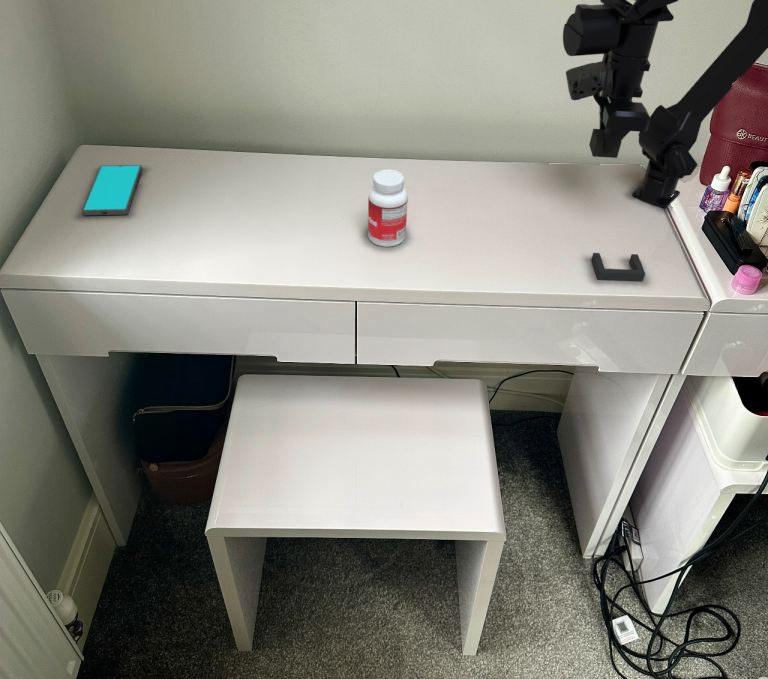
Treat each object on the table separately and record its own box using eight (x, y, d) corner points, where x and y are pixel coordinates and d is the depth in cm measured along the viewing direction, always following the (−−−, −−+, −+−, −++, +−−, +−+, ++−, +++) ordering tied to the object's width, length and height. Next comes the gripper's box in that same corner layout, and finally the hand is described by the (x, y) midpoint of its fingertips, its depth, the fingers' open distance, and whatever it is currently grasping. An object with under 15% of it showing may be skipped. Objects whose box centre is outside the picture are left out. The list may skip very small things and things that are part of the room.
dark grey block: (589, 145, 119) (593, 128, 117) (612, 146, 118) (617, 129, 116) (592, 156, 116) (596, 139, 114) (617, 158, 116) (621, 141, 114)
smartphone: (81, 211, 116) (100, 165, 127) (82, 215, 117) (101, 169, 128) (127, 210, 117) (142, 164, 128) (128, 214, 117) (143, 169, 128)
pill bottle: (366, 226, 117) (367, 167, 109) (403, 225, 117) (406, 166, 110) (369, 248, 112) (370, 188, 105) (407, 247, 113) (411, 187, 105)
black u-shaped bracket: (591, 260, 112) (593, 252, 111) (635, 261, 112) (637, 254, 111) (597, 279, 108) (599, 272, 107) (642, 281, 108) (645, 273, 107)
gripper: (568, 25, 113) (549, 117, 123) (584, 73, 99) (562, 171, 110) (638, 29, 112) (613, 121, 123) (664, 77, 99) (634, 176, 109)
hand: (604, 145), depth 116 cm, fingers closed on dark grey block, 4 cm apart
